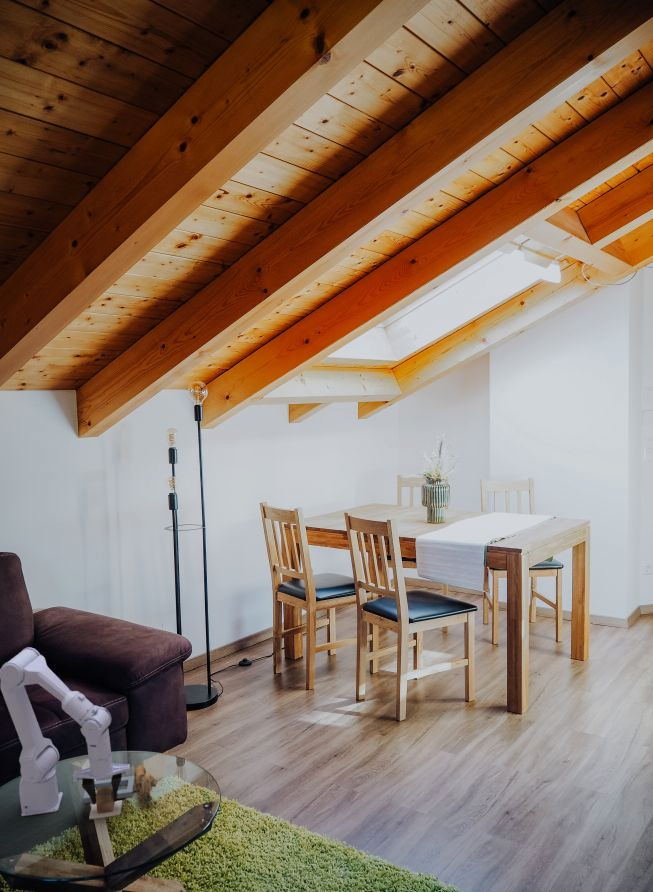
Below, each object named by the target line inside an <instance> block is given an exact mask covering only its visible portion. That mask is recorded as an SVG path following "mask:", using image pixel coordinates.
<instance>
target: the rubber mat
mask: <svg viewBox="0 0 653 892" xmlns="http://www.w3.org/2000/svg"><path fill="white" fill-rule="evenodd" d="M122 806H123V799H122V800H120V799H119V800H117V801H116V802H115V804H114V809H113V812H107V813H100V814H98V813H97V804H94V805H93V803H92V804H91V808H90V812H89V820H95V819H101V818H108V817H115V816H120V815H121V812H122V808H123V807H122Z"/></svg>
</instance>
